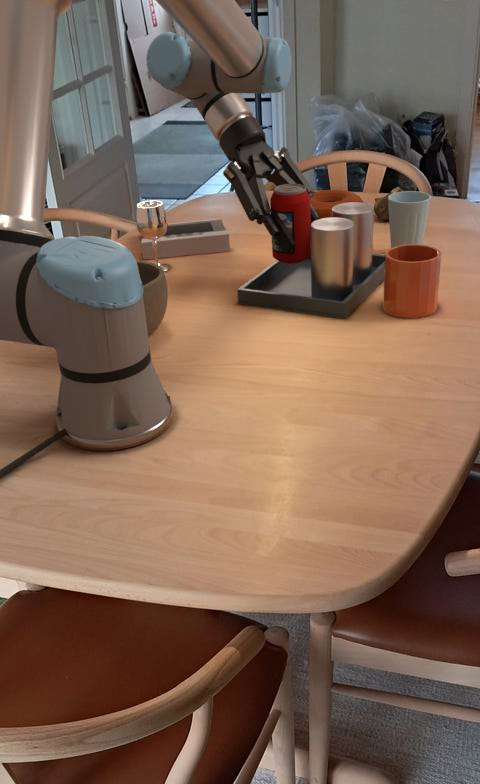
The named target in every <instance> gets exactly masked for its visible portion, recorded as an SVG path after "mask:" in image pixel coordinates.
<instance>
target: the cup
mask: <svg viewBox="0 0 480 784" xmlns="http://www.w3.org/2000/svg"><path fill="white" fill-rule="evenodd" d="M403 191H404V192H397V193H393V194H391V195H389V196H388V207H389V219H388V221H389V235H390V236H389V237H390V248H393V247H395V246H401V245H410V244H418V245H424V239H425V234H426V228H427V221H428V216H429V210H430V205H431V199H432V195H431V194H429V193H427V192H423V191H417V190H403Z"/></svg>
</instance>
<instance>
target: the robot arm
mask: <svg viewBox="0 0 480 784" xmlns="http://www.w3.org/2000/svg"><path fill="white" fill-rule="evenodd" d="M155 2H157V4H158V5H159V6H160V7H161V8H162V9H163V10H164V12H166V13H167V14H168V16H169V17H170V18H171V19H173V21H174V22H175V23H176V24H177V25H178V26H179V27H180V28H181V29H182V30H183V31H184V32H185V34H186V35H187V36H188V37H189V38H190V39H189V38H185V37H184V35H181V34H180V33H179V34H178V33H175V32H171V31H167V32H162V33H160V34H158V35H157V36H155V37H154V38H153V39H152V41H151V42H150V44H149V46H148V49H147V52H146V57H145V58H146V68H147V71H148V73H149V75H150V77H151V78H152V80H153V81H155V82H156V83H158V84H159V85H160V86H161V87H163V89H165V90H168V91H171V92H173V93H175V94H178V95H179V96H182V97H184V98H186V99H188V100H189V101H191V102H192V103H193V105H194V106H195V108H196V109H197V111H198V112H199V114H200V116H201V117H202V119H203V121H204V122H205V124H206V125H207V127H208V129H209V131H210V132H211V133H212V136H213V137H214V138H215V140H216V141H217V142H219V143H218V145H219V147H220V149H221V151H222V152H223V153H224V155H225V157H226V159H227V160H228V161H229V162H228V164H227V165H226V167H225V168H224V170H223V172H222V175H223V176H224V177H225V179H226V180H227V181H228V182H229V183H230V185H231V187H232V189H233V191H234V193H235V195H236V196H237V199H238V201H239V203H240V205H241V206H242V208H243V210H244V212H245V214H246V216H247V218H248V220H249V221H250V222H254V221H256V224H257V225H262V224H263V226H264V227H265V229H266V230H267V232H268V233H269V235H270V237H271V238H272V237H273V236H274V237H275V239H276V240H277V242H278V244H279V245H280V247H281V249H282V250H283V252H284V254H287V253H289V252H290V251H291V249H292V248H293V247H294V246H295V245H296V244H295V242H294V240H293V239H292V237H291V235H290V234H289V232H288V230H287V229H286V227H285V226H284V224H283V222H282V221H281V219H280V217H279V216H278V214H277V213H276V211H275V212H272V214H271V206H270V202H269V199H268V195H267V192H266V189H265V185H264V181H263V179H265V180H266V181H267V182H268V183H273V184H274V185H275V187H277V186H279V185H284V184H301V185H304V186H305V187H306V190H307V192H308V194H309V196H310V199H311V198H312V196H313V195H314V194H315V192H316V191H315V190H314V188H313V187H312V185H311V184H310V183H309V181H308V180H307V178H306V177H305V175H304V174H303V173H302V172H301V170H300V168H299V167H298V166H297V165H296V163H295V162H294V161H293V159H292V158H291V155H290V153H289V149H288V148H287V147H285V146H283V147H282V146H281V149H280V150H274V148H272V146H270V145H269V144H268V142H267V139H266V132H265V131H264V129H263V128H262V126H261V125H260V122H259V121H258V119H257V118H256V117H255V116H254V113H253V111H252V109H251V108H250V105H248V103H247V102H246V100H245V98H244V96H243V95H242V94H255V95H256V94H261V95H266V94H276V93H278V94H279V93H281V92H283V91H284V90H286V88H287V87H288V85H289V83H290V79H291V74H292V67H293V66H292V65H293V64H292V63H293V61H292V60H293V59H292V52H291V48H290V45H289V43H288V42H287V41H286V39H284V38H283V37H282V38H281V37H273V36H270V35H269V36H268V37H263V36H262V34H261V33H260V31H258V29H257V28H256V27H255V26H254V24H253V23H252V21H251V20H250V19H249V17H248V16H247V15H246V13H245V12H244V11H243V10H242V8H241V7H240V5H239V4H238V3H237V2H236V1H235V0H155ZM72 5H73V0H0V341H4V342H13V343H20V344H26V345H34V346H42V347H49V348H54V349H55V351H56V357H57V362H58V366H59V371H60V382H59V391H58V399H57V408H56V415H55V416H56V418H55V422H56V427H57V430H58V432H56V433H54V434H53V435H52V436H50V437H48V438H47V439H45V440H43V441H42V442H40V443H39V444H37V445H36V446H34V447H33V448H32V449H30V450H28V451H27V452H25V453H24V454H22V455H21V456H19V457H18V458H16V459H14V460H13V461H12V462H10V463H8V464H7V465H5V466H4V467H3V468H1V469H0V479H1V478H3V477H4V476H5V475H7V474H8V473H10V472H12V471H13V470H14V469H16V468H17V467H19V466H20V465H22V464H24V463H25V462H27V461H28V460H29V459H31V458H33V457H34V456H36V455H37V454H39V453H40V452H42V451H43V450H44V449H46V448H48V447H49V446H51V445H53V444H54V443H55V442H57V441H59V440H60V439H62V440H63V441H65V442H66V443H67V444H69V445H71V446H74V447H76V448H80V449H83V450H88V451H89V450H90V451H116V450H117V451H118V450H124V449H128V448H132V447H136V446H139V445H142V444H145V443H147V442H149V441H151V440H153V439H155V438H157V437H158V436H160V435H161V434H163V432H165V431H166V430H167V429H168V428H169V426H170V425H171V423H172V421H173V409H172V408H173V407H172V402H171V396H170V395H168V393H167V392H166V390H165V389H164V386H163V384H162V382H161V380H160V377H159V375H158V373H157V371H156V368H155V367H154V365H153V362H152V354H151V349H150V341H149V337H148V331H147V323H146V316H145V308H144V300H143V285H142V281H141V279H140V275H139V270H138V266H137V261H138V260H137V259H136V257H135V256H134V254H133V253H132V251H131V250H130V249H129V248H128V247H127V246H125V245H124V244H122V243H119V242H118V241H115V240H112V239H109V238H105V237H100V236H93V235H81V236H79V237H76V236H64V237H58V238H55V237H54V235H53V234H52V233H51V231H50V230H49V228H47V226H46V224H45V214H46V213H45V211H46V197H47V185H48V183H47V182H48V171H49V169H48V168H49V156H50V155H49V153H50V141H51V127H52V126H51V124H52V109H53V95H54V82H55V69H56V68H55V66H56V54H57V53H56V52H57V40H58V39H57V38H58V23H59V18H61V17H62V16H63V15H64V14H65V13H67V12H68V11H69V10H70V9H71V8H72ZM310 216H311V223H312V222H314V221H316V220H318V214H317V213H316V211H315V210H314V208H313V206H312V204H311V203H310Z"/></svg>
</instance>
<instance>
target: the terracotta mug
mask: <svg viewBox="0 0 480 784" xmlns="http://www.w3.org/2000/svg"><path fill="white" fill-rule="evenodd" d="M384 255H385V266H384V280H383V290H382V293H383V294H382V295H383V296H382V305H383V306H382V309H383V311H384V312H385V313H386V314H387V315H390V316H392V317H396V318H401V319H402V318H403V319H418V318H423V317H427V316H430V315H432V314H434V313H435V312H436V310H437V307H438V301H439V300H438V298H439V286H440V276H441V275H440V274H441V262H442V252H441V250H440V249H439V248H437V247H435V246H431V245H427V244H423V245H418V244H410V245H401V246H395V247H393V248H391V247H390V248H388V249H387V250H386V251H385V252H384Z"/></svg>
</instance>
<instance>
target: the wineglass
mask: <svg viewBox="0 0 480 784" xmlns="http://www.w3.org/2000/svg"><path fill="white" fill-rule="evenodd" d="M135 211H136V213H135V224H136V228H137V232H138V234H139V235H140V237H141V238H142V237H144V238H146V239H150V240H153V242H152V247H153V249H154V253H155V259H154V264H157V265H159V266H161V267H162V269H163V270H164V272H166V271H168V270H169V269H170V266H169V265H168V264H164V263H160V262H159V258H157V242H156V239H159V238H161V237H162V236H163V235H164V234H165V233H166V231H167V226H168V224H169V222H168V217H167V212H166V209H165V207H164V204H163V201H160V200H145V201H141V202H139V203H137V205H136V210H135Z"/></svg>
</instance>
